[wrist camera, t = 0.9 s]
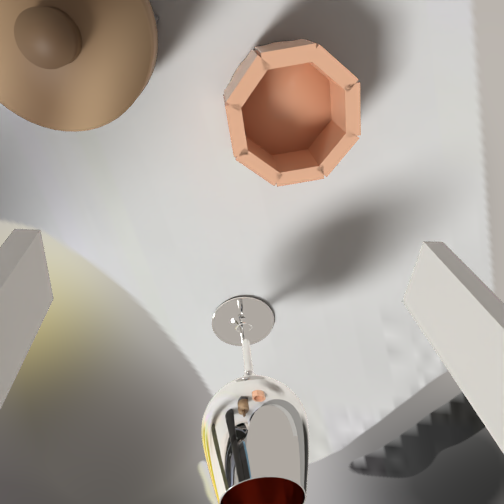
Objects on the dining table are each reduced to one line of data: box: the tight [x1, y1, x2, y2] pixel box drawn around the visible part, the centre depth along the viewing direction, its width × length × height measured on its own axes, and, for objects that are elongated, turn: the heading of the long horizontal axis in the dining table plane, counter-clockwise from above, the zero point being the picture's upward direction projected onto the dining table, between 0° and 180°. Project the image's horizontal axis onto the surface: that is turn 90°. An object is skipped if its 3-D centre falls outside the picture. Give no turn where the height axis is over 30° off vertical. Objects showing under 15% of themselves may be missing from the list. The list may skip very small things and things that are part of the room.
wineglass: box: [201, 297, 309, 504], centre depth 35 cm, size 8×8×18 cm
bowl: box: [223, 39, 361, 187], centre depth 30 cm, size 9×9×5 cm
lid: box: [0, 0, 158, 131], centre depth 23 cm, size 10×10×6 cm
